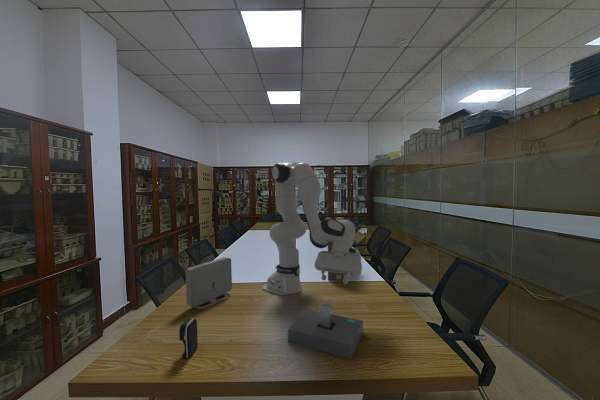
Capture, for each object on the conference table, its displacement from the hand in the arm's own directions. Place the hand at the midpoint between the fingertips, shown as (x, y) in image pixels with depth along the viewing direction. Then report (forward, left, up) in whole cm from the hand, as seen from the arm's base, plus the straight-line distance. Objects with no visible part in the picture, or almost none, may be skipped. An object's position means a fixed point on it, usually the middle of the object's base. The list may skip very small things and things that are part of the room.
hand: (334, 281), depth 113 cm
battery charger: (-41, -39, -19) cm, 60 cm away
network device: (-66, -2, -19) cm, 68 cm away
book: (-19, +64, -19) cm, 69 cm away
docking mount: (0, -10, -19) cm, 21 cm away
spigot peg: (0, -10, -18) cm, 20 cm away
